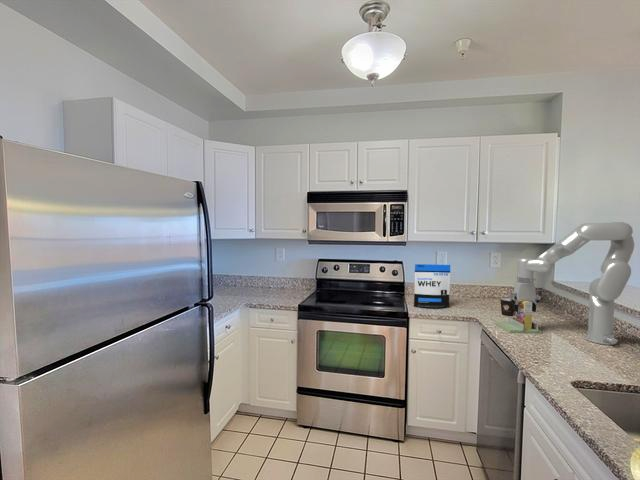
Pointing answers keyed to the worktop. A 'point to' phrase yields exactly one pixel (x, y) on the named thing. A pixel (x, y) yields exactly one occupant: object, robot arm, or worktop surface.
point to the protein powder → (432, 286)
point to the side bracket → (521, 326)
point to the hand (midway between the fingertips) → (524, 311)
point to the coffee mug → (506, 307)
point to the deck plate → (514, 328)
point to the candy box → (525, 314)
